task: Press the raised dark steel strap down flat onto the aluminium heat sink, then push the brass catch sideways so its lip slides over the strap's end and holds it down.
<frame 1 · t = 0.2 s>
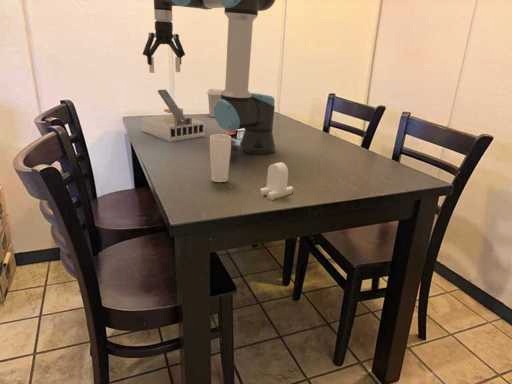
hand: (165, 72, 174), 27 cm above the table, tool pointing down, fingers open, 13 cm apart
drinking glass: (219, 181, 127), on the table
strap: (172, 106, 173), point 13 cm above the table, hinge at 35.0°
coffee cup: (215, 116, 222), on the table
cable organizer: (276, 194, 119), on the table
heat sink: (173, 133, 180), on the table
catch: (173, 112, 185), point 8 cm above the table, slide at 0.0 cm
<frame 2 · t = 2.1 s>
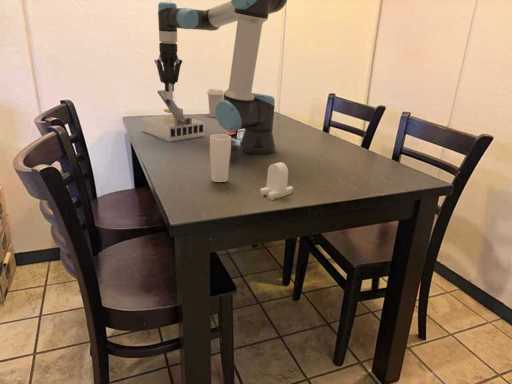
hand: (169, 98, 173), 16 cm above the table, tool pointing down, fingers closed
strap: (172, 107, 173), point 13 cm above the table, hinge at 33.9°, touching gripper
everything else where it was.
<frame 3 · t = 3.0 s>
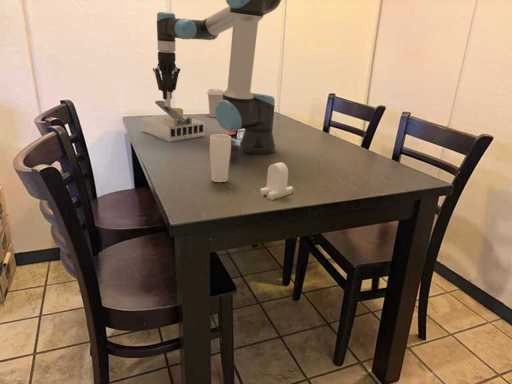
hand: (167, 106, 175), 13 cm above the table, tool pointing down, fingers closed
strap: (171, 112, 174), point 10 cm above the table, hinge at 17.4°, touching gripper
everything else where it was.
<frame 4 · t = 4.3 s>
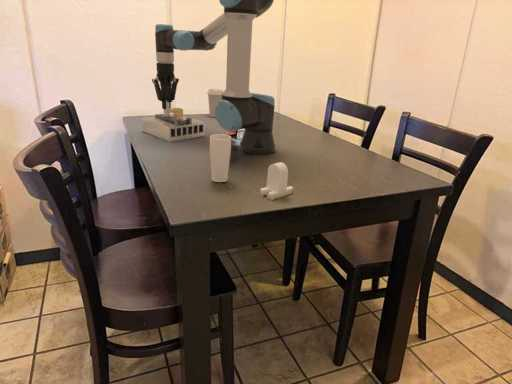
hand: (166, 116, 178), 8 cm above the table, tool pointing down, fingers closed
strap: (170, 118, 176), point 7 cm above the table, hinge at -1.4°, touching gripper
everything else where it was.
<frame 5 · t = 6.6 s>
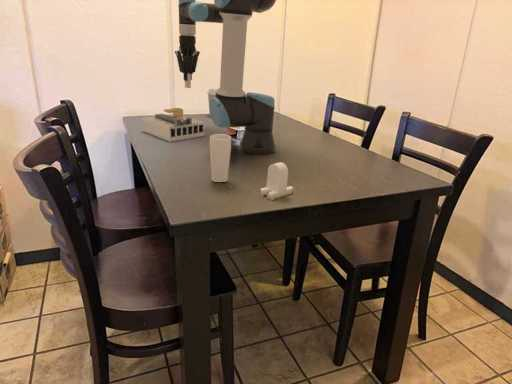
hand: (187, 87, 186), 19 cm above the table, tool pointing down, fingers closed
strap: (170, 118, 176), point 7 cm above the table, hinge at -1.2°
everything else where it was.
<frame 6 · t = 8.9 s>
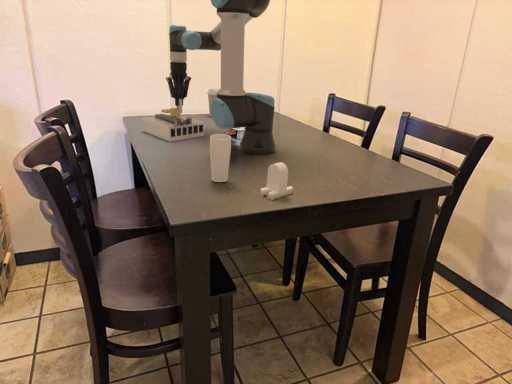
hand: (179, 112, 187), 8 cm above the table, tool pointing down, fingers closed
catch: (171, 112, 184), point 8 cm above the table, slide at 1.5 cm, touching gripper
everything else where it was.
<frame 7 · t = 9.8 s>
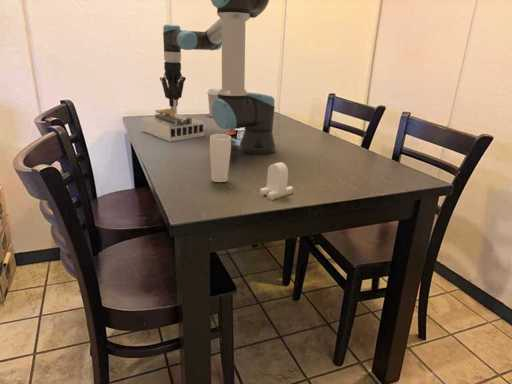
hand: (173, 113, 185), 8 cm above the table, tool pointing down, fingers closed
catch: (165, 113, 181), point 8 cm above the table, slide at 4.7 cm, touching gripper
everything else where it was.
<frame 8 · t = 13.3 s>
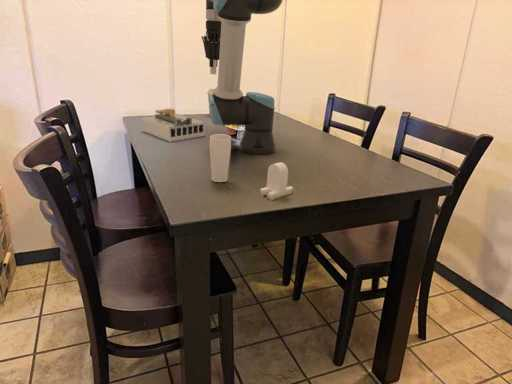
hand: (213, 74, 184), 26 cm above the table, tool pointing down, fingers closed
catch: (165, 113, 181), point 8 cm above the table, slide at 4.7 cm
everything else where it was.
at the end: strap at -1° (first picture: +35°); catch slide at 4.7 cm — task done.
